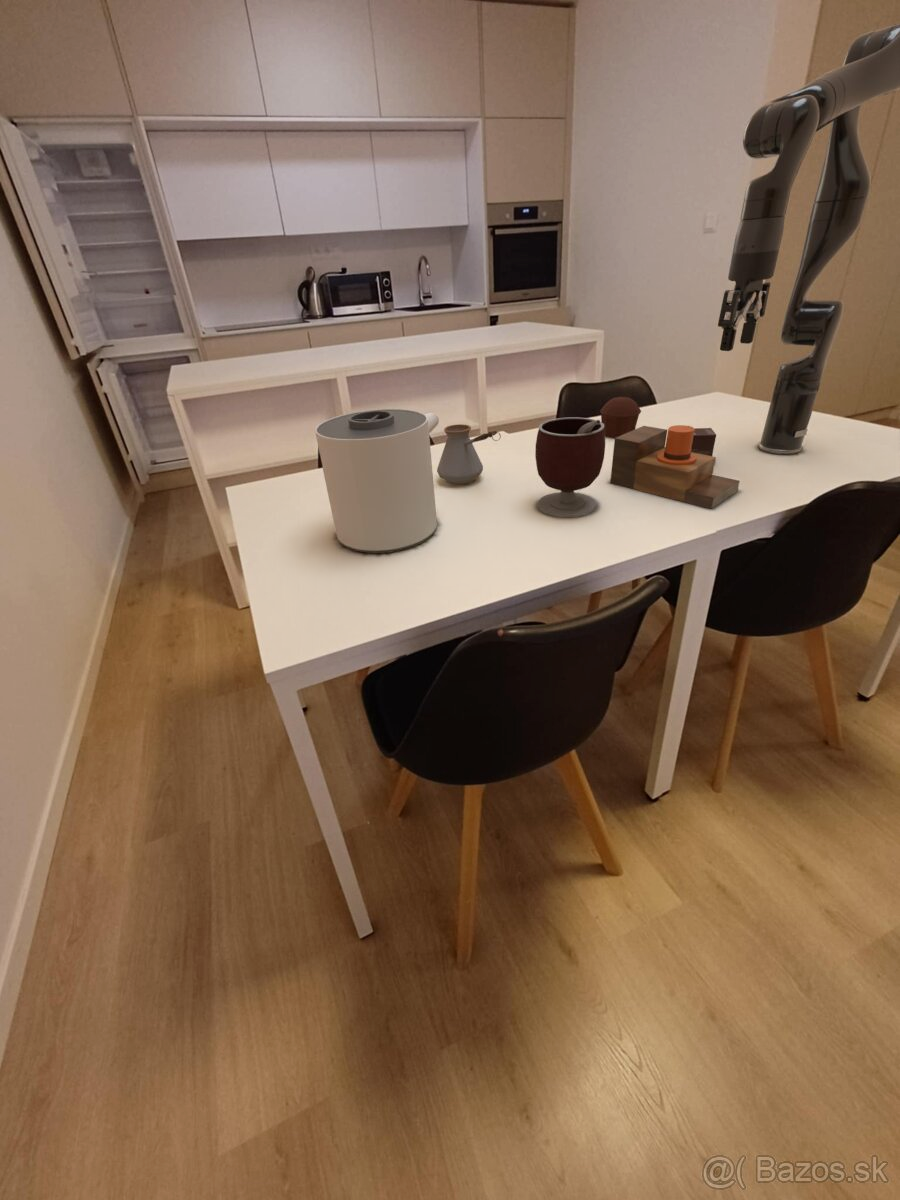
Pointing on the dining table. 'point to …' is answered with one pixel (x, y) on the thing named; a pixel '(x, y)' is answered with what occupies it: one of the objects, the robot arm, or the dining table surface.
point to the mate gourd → (569, 463)
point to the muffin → (619, 416)
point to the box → (703, 441)
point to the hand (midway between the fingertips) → (736, 346)
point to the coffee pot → (461, 456)
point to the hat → (678, 446)
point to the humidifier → (379, 478)
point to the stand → (666, 470)
